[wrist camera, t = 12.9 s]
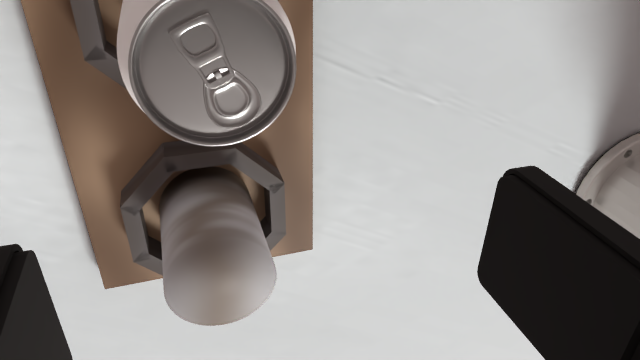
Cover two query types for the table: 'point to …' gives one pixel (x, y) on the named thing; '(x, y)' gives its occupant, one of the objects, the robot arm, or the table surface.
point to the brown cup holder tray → (176, 172)
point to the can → (207, 65)
